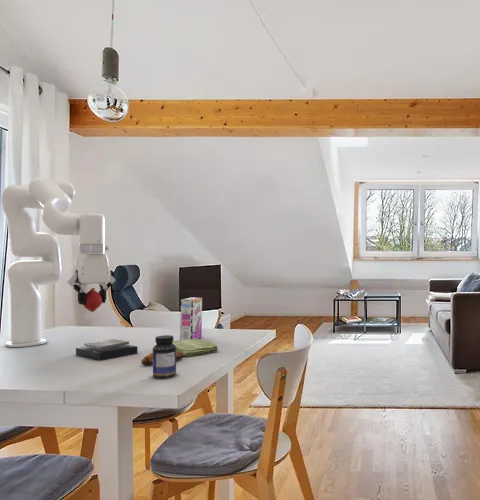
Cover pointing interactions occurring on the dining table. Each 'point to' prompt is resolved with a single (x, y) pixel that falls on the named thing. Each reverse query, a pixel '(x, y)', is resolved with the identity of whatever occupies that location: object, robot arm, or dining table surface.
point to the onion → (93, 300)
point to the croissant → (149, 358)
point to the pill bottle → (164, 357)
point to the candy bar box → (191, 318)
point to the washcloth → (194, 346)
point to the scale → (106, 352)
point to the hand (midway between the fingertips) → (92, 303)
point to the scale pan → (106, 343)
